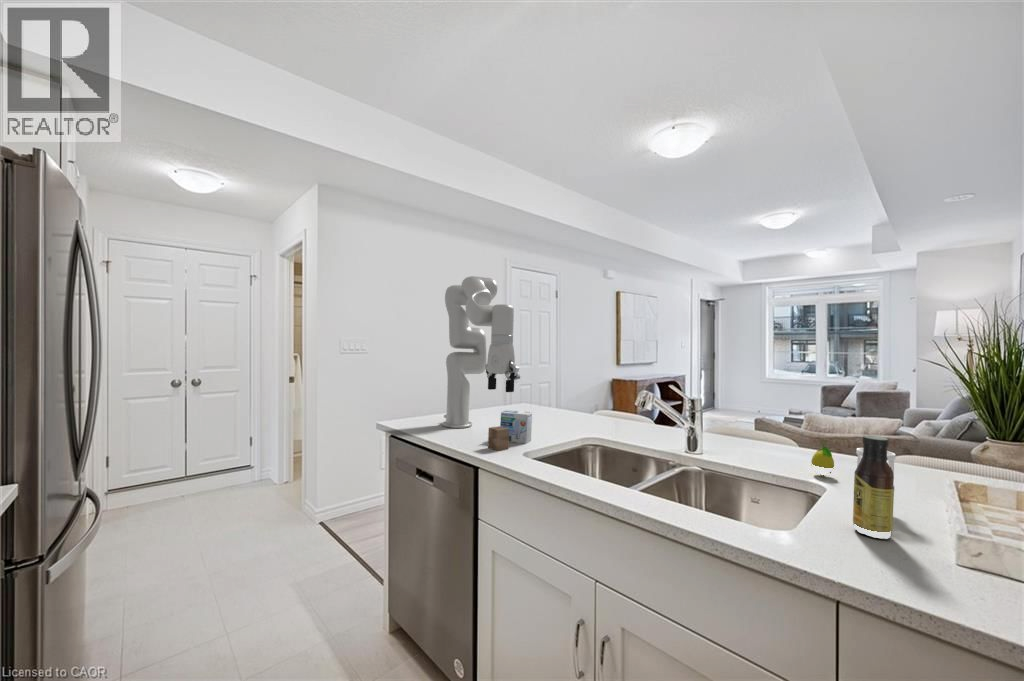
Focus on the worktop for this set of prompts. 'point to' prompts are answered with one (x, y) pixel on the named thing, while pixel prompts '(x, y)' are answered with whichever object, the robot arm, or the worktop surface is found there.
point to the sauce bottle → (874, 487)
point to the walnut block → (498, 438)
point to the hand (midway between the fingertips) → (500, 390)
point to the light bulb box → (517, 425)
